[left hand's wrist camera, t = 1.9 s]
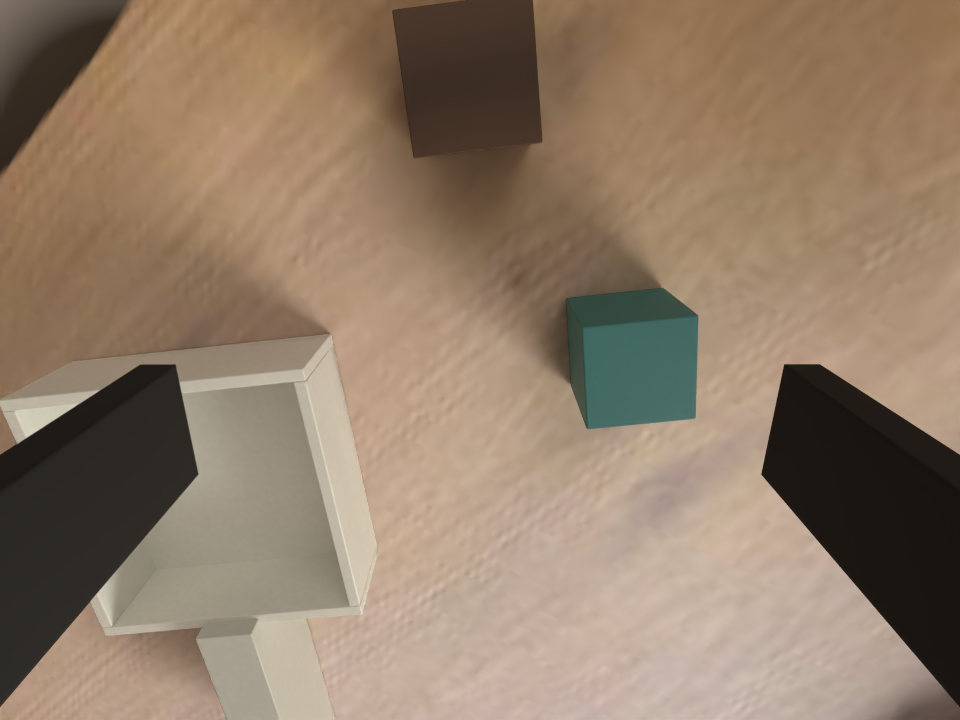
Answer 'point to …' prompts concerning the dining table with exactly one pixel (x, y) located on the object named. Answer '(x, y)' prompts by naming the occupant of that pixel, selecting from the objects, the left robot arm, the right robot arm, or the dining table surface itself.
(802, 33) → the dining table surface
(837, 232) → the dining table surface
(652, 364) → the teal cube
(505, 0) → the walnut cube
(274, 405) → the box
